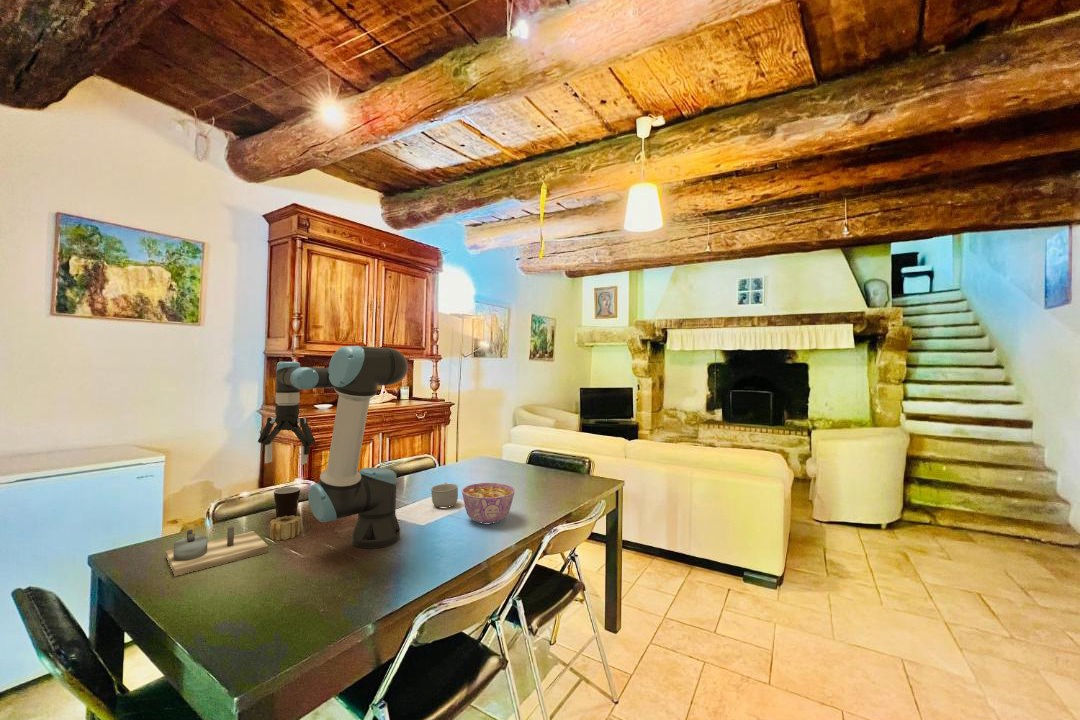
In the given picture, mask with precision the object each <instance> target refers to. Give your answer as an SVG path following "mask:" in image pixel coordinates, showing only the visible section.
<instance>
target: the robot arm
mask: <svg viewBox="0 0 1080 720" xmlns="http://www.w3.org/2000/svg"><path fill="white" fill-rule="evenodd" d="M408 368H409V365H408V361H407V358H406V357H405V356H404V354H403V353H402V352H400V351H399V350H397V349H395V348H392V347H375V346H366V345H365V346H364V345H363V346H362V345H349V346H348V345H347V346H345V345H344V346H342V347H339V348H338V349H337V350H336V351H335V352H334V353H333V354H332V356H331V359H330V361H329V365H328V367H313V366H312V367H308V366H301V363H300V362H298V361H279V362H277V364H276V370H275V404H276V405H275V410H274V411H275V412H274V414H275V416H271V417H270V416H269V417H267V419H266V423H265V426H264V428H263V430H262V432H261V434H260V436H259V438H258V441H257V442H258V444H261V445H263V450H262V451H263V454H264V464H269V463H272V462H273V443H272V441H274V439H275V438H276V436H277V435H279V433H280V432H281V431H291V432H293V433H294V435H295V436H296V438H297V439H298V440H299V442H301V444H302V445H300V465H305V464H308V455H309V454H310V451H311V449H310V448H311V445H313V444H315V443H316V439H315V437H314V434H313V432H312V431H311V428H310V426H309V424H308V418H307V417H302V418H299V415H300V404H299V403H300V392H301V390H311V389H312V390H314V389H316V390H317V389H334V391H335V392H336V394H338V399H337V403H336V404H337V405H336V411H335V417H334V424H333V428H332V435H331V436H332V437H331V442H330V447H329V453H328V459H327V466H326V469H325V470H323V471H322V472H320V475H319V479H318V480H319V481H318V483H317V482H315V483H314V484H312V485H311V486H310V487H309V489H308V495H307V497H308V505H309V507H310V508H309V509H310V511H311V512H312V513H311V514H312V515H313V516H314V518H315V519H316V520H317V521H318V522H320V523H328V522H331V521H332V522H336V521H337V520H340V519H344V518H347V517H350V516H355V515H357V520H356V522H355V525H354V528H353V530H352V534H351V543H352V545H353V546H354V547H356V548H360V549H361V548H362V549H378V548H384V547H388V546H391V545H393V544H395V543H396V542H398V541H399V540H400V539H401V527H400V525H399V521H398V519H397V518H398V517H397V514H396V513H397V512H396V509H397V508H396V507H397V485H398V482H397V475H396V474H397V472H396V471H395V472H394V471H393V469H389V468H383V467H382V468H381V467H363V468H360V469H358V467H359V463H360V459H361V452H362V451H361V450H362V447H363V440H364V434H365V429H366V424H367V418H368V412H369V406H370V400H371V399H372V398H373V397H375V396H376V395H377V393H378V387H379V386H391V385H395V384H398V383H400V382H401V381H402V380H403V379H404V378H405V377H406V376H407V373H408ZM275 424H276V425H275ZM274 425H275V426H274ZM358 470H359V471H358Z"/></svg>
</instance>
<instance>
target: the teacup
mask: <svg viewBox="0 0 1080 720" xmlns="http://www.w3.org/2000/svg"><path fill="white" fill-rule="evenodd" d="M458 488H459V486H458V485H457V484H456V483H448V482H443V483H440V484H435V485H434V486H432V487H431V488H430V489H431V490H430V491H431V501H432V504H433V505H434V506H435V507H436V508H438V507H449V506H452V505H453V506H454V505H455V504H456V503H457V502H458V498H459V491H458V490H459V489H458ZM453 506H452V507H453ZM449 508H450V507H449Z"/></svg>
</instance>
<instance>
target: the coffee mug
mask: <svg viewBox="0 0 1080 720" xmlns="http://www.w3.org/2000/svg"><path fill="white" fill-rule="evenodd" d="M300 495H301V487H298V486H287V487H286V486H285V487H280V488H277V489H275V490H273V498H274V508H275V519H276V518H278V517H283V516H291V515H294V516H297V514H298V507H299V499H300Z"/></svg>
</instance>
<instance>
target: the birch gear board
mask: <svg viewBox="0 0 1080 720" xmlns="http://www.w3.org/2000/svg"><path fill="white" fill-rule="evenodd" d="M195 534H196V533H193V529H187V531H186V537H184V538H181V539H178V540H176V541H175V542H174V543H173V549H169V550H166V551H165V559H166V558H167V560H168V562H167V564H168V563H169V564H168V566H169V565H170V566H169V568H170V567H171V568H170V570H171V569H172V570H171V572H172V571H173V573H172V574H174V575H173V577H174V576H177V575H181V574H184V573H188V574H190V573H189V572H192V573H194V572H193V571H196V572H199V571H198V570H200V571H203V570H206V569H205V568H207V569H210V568H209V567H211V568H214V567H213V566H215V567H218V566H222V565H226V564H228V562H230V563H233V562H232V561H234V562H237V561H241V560H245V559H248V557H249V558H252V557H256V556H259V555H260V556H261V555H263V554H267V553H269V544H267V543H266V542H265V541H264V540H263V539H262V537H260V536H259V535H258V533H256V532H255V531H254V530H252V531H248V532H244V533H239V534H235V527H234V526H232V525H231V526H228V528H227V536H226V537H221V538H216V539H212V540H208V539H209V538H208V536H206V535H195ZM244 558H245V559H244ZM167 560H166V561H167ZM236 560H237V561H236ZM225 563H226V564H225ZM221 564H222V565H221ZM202 569H203V570H202ZM184 575H185V574H184ZM181 576H182V575H181ZM177 577H178V576H177Z"/></svg>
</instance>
